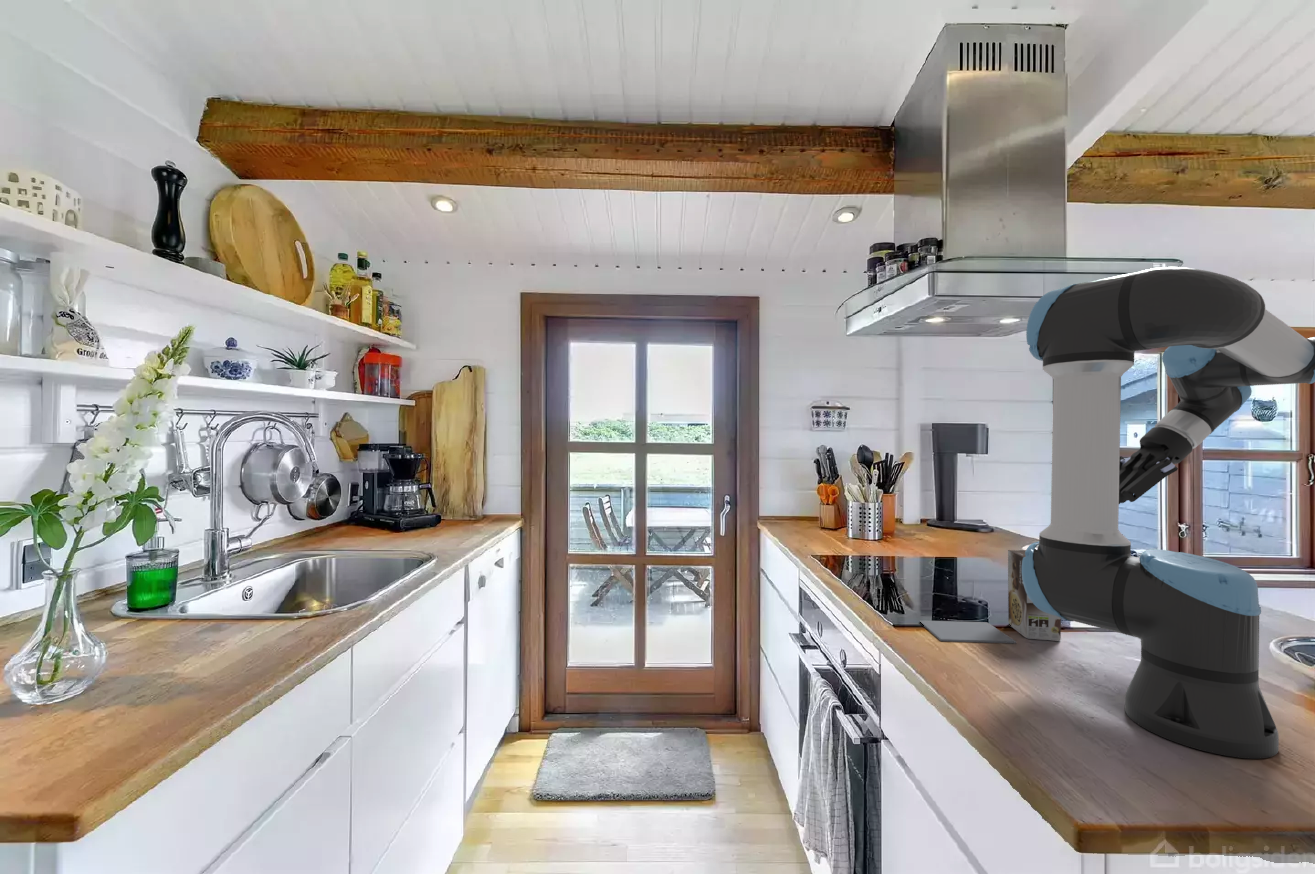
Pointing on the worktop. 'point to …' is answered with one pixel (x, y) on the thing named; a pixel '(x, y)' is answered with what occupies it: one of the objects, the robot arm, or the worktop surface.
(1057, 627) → the coffee box
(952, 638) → the mat
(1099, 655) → the worktop surface
